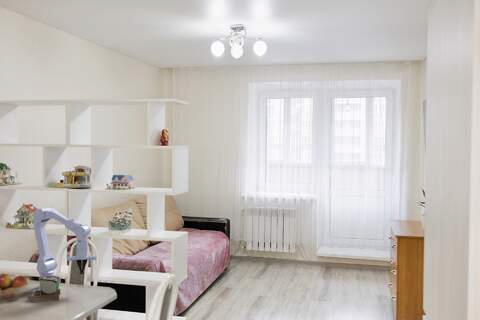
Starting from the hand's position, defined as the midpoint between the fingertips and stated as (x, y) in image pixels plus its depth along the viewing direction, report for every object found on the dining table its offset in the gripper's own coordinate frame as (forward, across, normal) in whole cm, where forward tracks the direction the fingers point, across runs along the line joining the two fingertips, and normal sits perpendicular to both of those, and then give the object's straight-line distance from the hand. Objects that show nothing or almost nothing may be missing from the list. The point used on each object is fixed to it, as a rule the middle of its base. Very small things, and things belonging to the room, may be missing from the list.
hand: (81, 273), depth 250 cm
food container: (+11, -14, -2) cm, 18 cm away
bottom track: (+10, -17, -4) cm, 20 cm away
